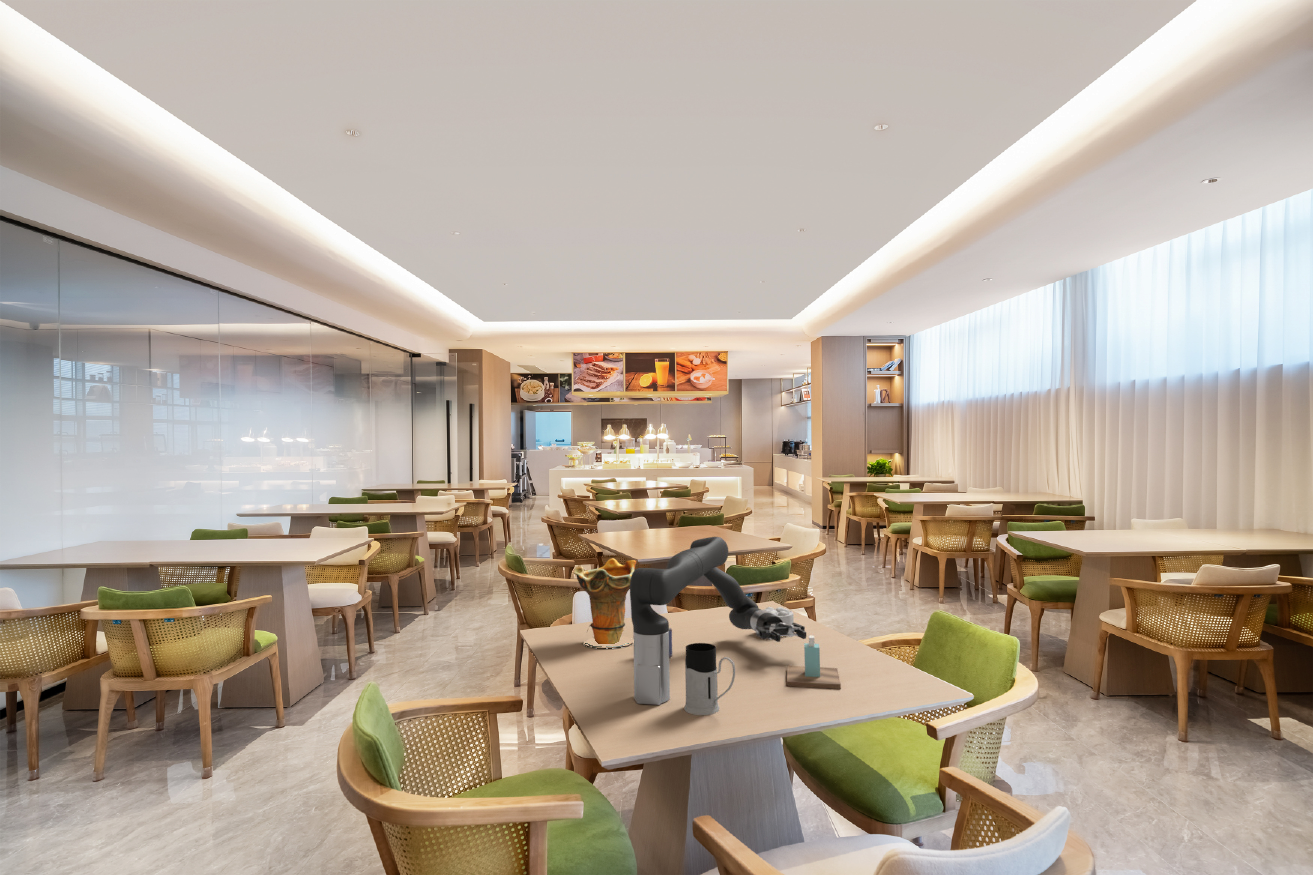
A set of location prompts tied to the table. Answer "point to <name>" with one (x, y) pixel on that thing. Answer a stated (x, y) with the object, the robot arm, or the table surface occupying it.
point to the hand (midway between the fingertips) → (792, 636)
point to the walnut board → (813, 678)
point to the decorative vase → (607, 598)
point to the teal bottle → (812, 658)
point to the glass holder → (702, 679)
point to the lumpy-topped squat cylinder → (782, 614)
